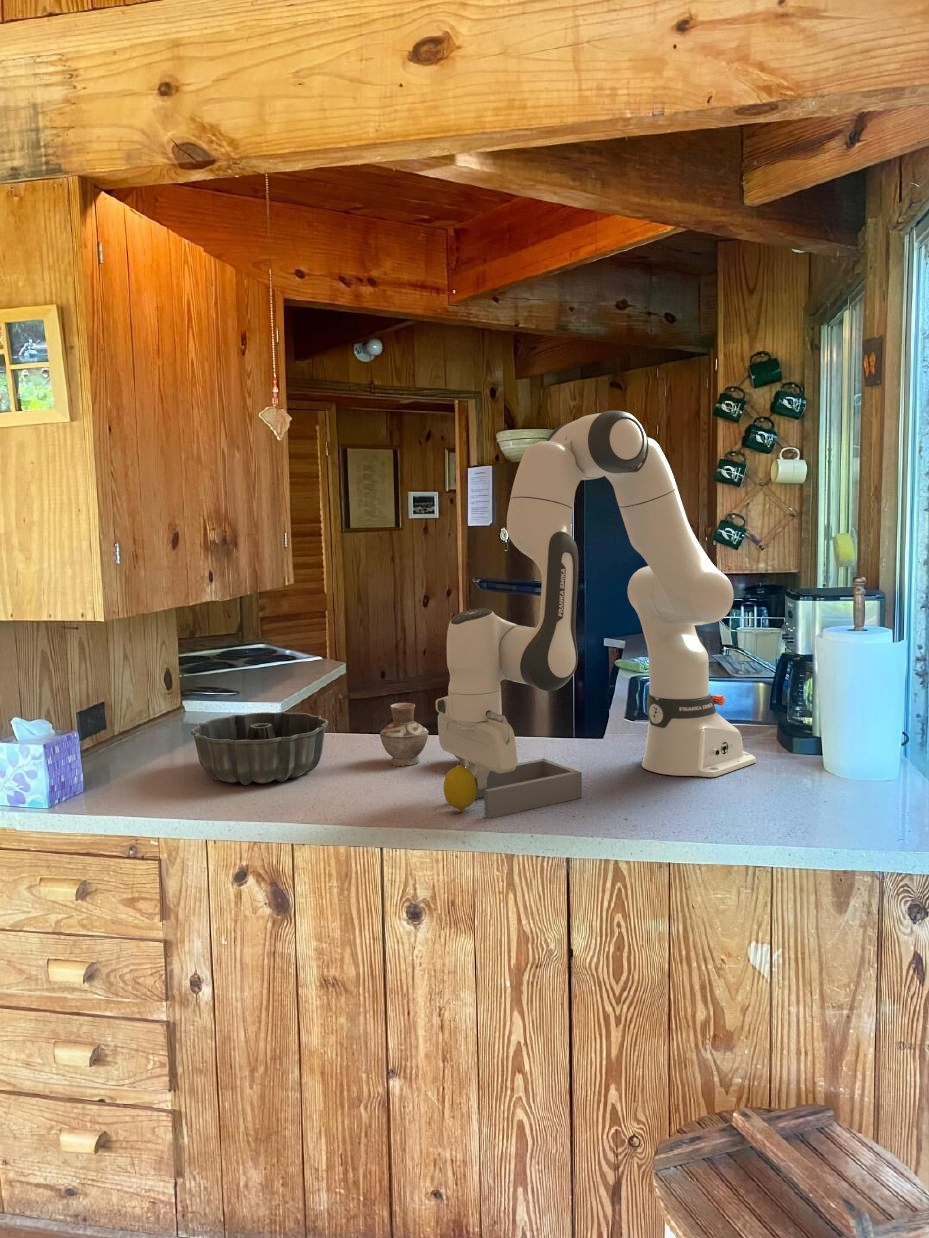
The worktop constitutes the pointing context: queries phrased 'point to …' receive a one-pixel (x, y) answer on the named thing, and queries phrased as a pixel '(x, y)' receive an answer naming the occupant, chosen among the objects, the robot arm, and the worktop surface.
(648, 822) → the worktop surface
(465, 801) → the lemon
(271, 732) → the bundt pan
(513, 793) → the trough
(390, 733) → the pottery
